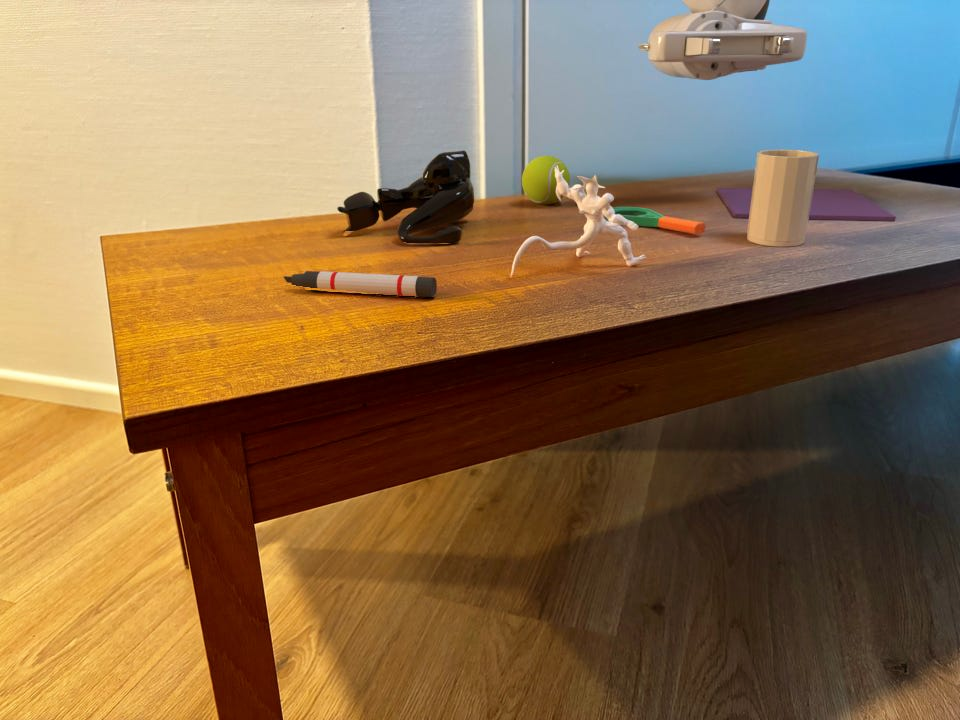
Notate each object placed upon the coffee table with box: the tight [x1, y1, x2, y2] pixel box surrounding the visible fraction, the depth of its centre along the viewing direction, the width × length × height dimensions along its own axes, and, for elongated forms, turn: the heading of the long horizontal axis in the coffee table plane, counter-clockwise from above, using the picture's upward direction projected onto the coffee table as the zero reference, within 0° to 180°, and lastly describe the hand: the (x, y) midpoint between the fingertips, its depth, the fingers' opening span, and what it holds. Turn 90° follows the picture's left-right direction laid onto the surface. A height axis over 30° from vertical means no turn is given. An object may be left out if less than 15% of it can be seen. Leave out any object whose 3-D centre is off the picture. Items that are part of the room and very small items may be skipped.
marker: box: [283, 270, 438, 298], centre depth 70 cm, size 15×2×2 cm, turn 77°
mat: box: [716, 186, 897, 222], centre depth 106 cm, size 20×20×1 cm
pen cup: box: [746, 149, 820, 248], centre depth 85 cm, size 6×6×10 cm
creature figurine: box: [509, 165, 647, 279], centre depth 75 cm, size 12×11×12 cm
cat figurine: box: [336, 150, 475, 244], centre depth 91 cm, size 10×14×18 cm
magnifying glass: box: [604, 206, 706, 235], centre depth 94 cm, size 15×6×2 cm, turn 35°
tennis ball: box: [521, 155, 571, 206], centre depth 108 cm, size 7×7×7 cm
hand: (751, 45), depth 90 cm, fingers open, 8 cm apart
